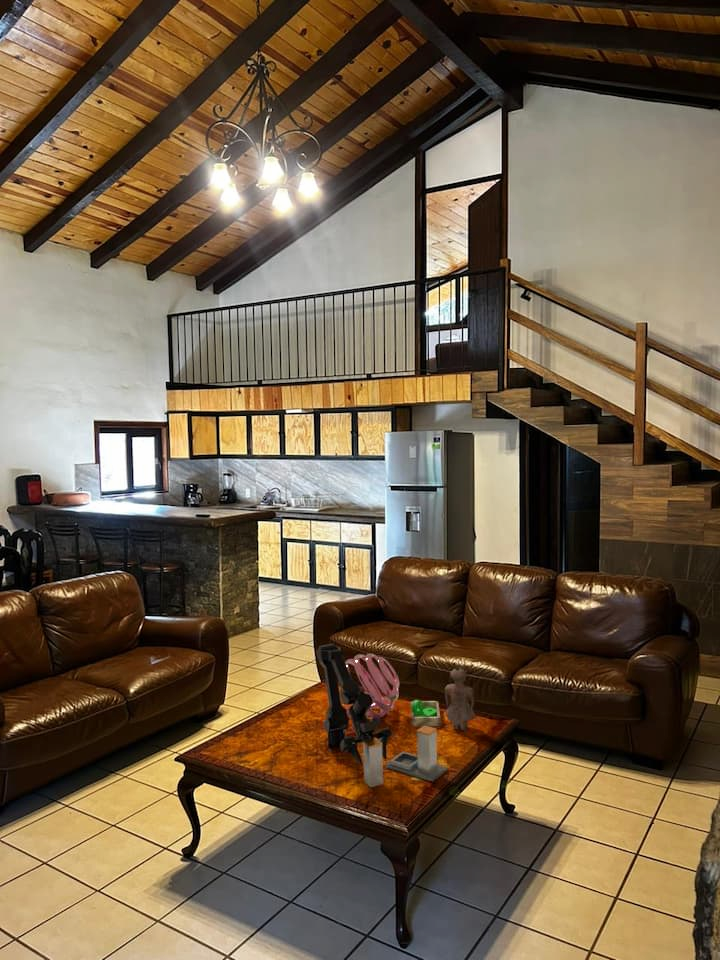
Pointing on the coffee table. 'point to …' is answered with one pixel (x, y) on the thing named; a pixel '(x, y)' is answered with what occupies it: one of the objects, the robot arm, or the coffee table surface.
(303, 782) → the coffee table surface
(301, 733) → the coffee table surface
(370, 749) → the post
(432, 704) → the parts corral
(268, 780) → the coffee table surface
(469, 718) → the clay figurine
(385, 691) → the spiral basket
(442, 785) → the coffee table surface
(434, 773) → the housing
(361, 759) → the robot arm
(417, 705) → the mechanical part
